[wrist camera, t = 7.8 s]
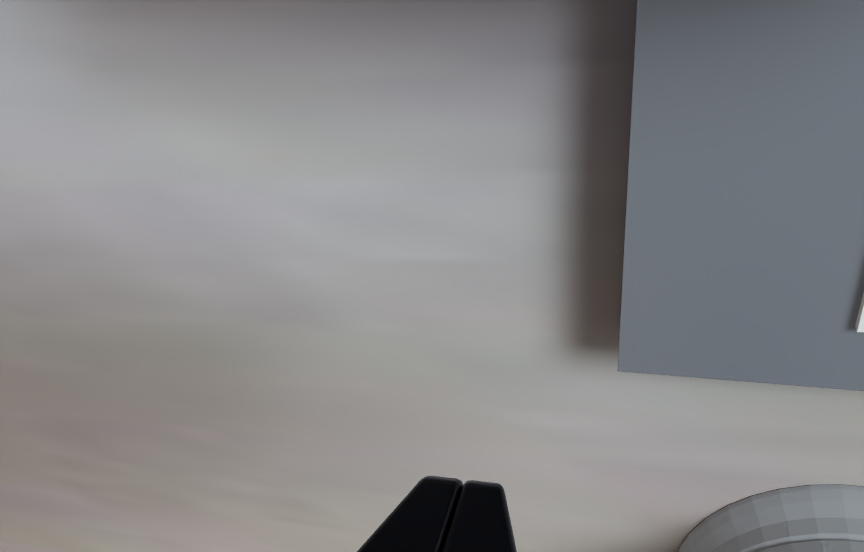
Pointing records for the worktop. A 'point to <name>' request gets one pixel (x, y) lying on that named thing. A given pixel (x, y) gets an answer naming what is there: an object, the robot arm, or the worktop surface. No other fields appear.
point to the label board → (746, 193)
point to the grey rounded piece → (786, 522)
